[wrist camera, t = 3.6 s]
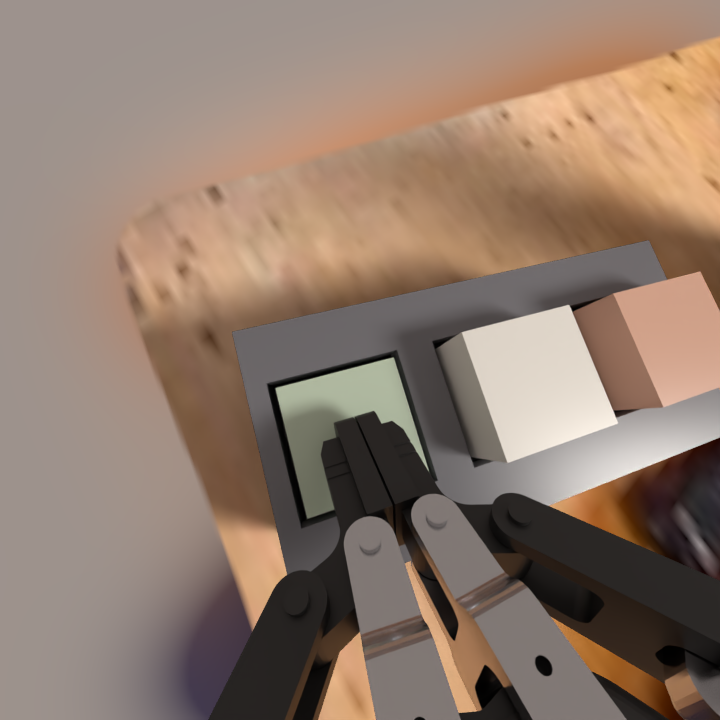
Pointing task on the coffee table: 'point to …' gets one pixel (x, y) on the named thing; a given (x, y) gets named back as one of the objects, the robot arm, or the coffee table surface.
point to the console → (431, 396)
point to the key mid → (524, 385)
